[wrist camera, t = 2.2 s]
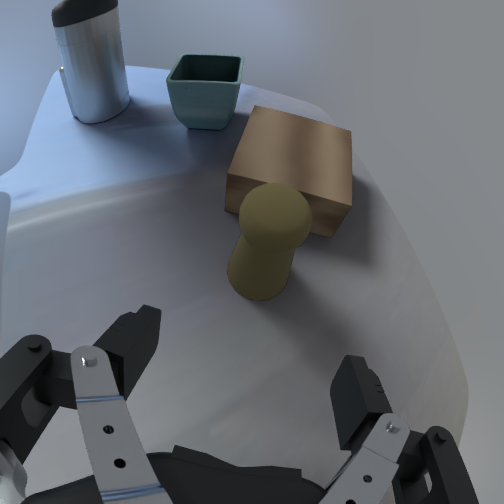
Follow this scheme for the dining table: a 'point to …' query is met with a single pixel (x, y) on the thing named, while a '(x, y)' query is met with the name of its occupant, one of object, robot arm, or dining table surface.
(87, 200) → the dining table surface
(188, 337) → the dining table surface
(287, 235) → the cork
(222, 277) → the dining table surface
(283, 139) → the walnut block
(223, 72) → the flower pot
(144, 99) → the dining table surface
